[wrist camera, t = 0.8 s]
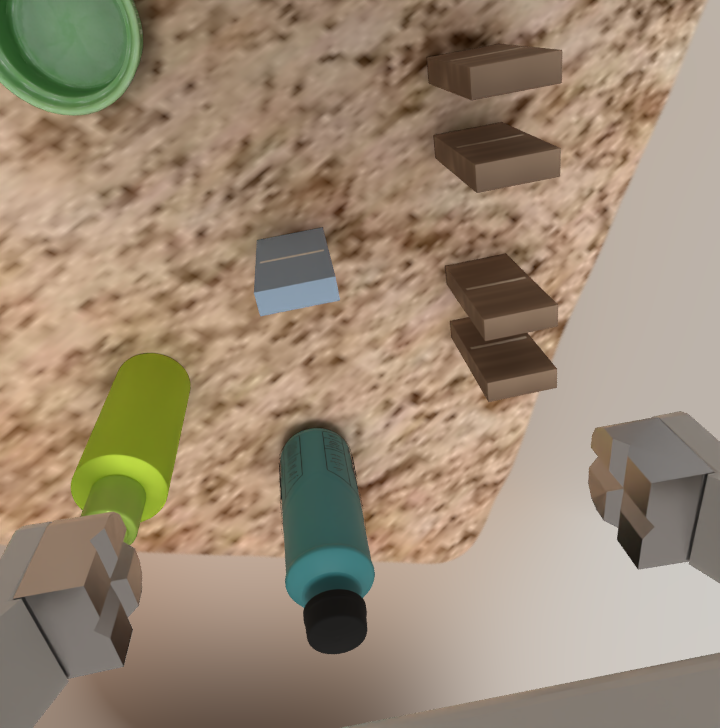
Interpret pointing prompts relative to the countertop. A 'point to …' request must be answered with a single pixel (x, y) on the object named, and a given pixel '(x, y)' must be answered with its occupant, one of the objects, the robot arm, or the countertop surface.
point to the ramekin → (69, 52)
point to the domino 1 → (294, 272)
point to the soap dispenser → (134, 442)
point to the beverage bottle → (325, 539)
